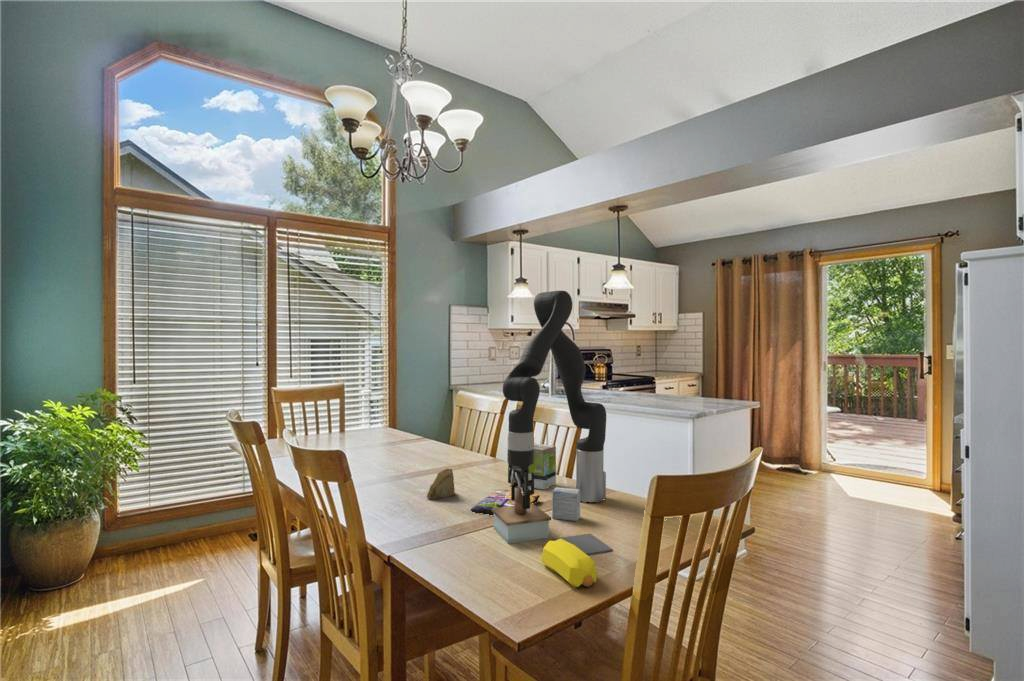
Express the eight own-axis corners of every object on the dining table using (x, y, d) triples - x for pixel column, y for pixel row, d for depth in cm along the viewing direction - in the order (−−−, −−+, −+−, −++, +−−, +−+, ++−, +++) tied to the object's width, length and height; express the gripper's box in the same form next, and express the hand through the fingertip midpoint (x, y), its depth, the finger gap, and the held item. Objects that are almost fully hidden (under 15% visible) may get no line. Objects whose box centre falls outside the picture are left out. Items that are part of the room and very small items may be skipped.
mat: (590, 534, 151) (590, 533, 151) (612, 550, 140) (612, 549, 140) (551, 540, 147) (551, 538, 147) (571, 557, 135) (571, 555, 135)
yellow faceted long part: (561, 557, 136) (535, 563, 133) (561, 531, 136) (535, 536, 132) (604, 587, 120) (575, 594, 116) (604, 557, 120) (576, 564, 116)
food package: (549, 503, 182) (549, 490, 181) (516, 527, 159) (516, 512, 159) (492, 494, 191) (492, 482, 191) (454, 515, 169) (454, 502, 169)
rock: (425, 495, 179) (455, 490, 181) (423, 471, 184) (452, 467, 186) (428, 506, 188) (456, 501, 189) (426, 483, 193) (453, 479, 194)
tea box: (556, 484, 202) (556, 445, 202) (543, 490, 194) (543, 449, 194) (522, 478, 211) (522, 440, 210) (508, 484, 202) (509, 445, 202)
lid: (532, 506, 160) (532, 480, 160) (551, 520, 148) (551, 492, 148) (491, 511, 156) (491, 484, 156) (507, 526, 144) (507, 497, 144)
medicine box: (580, 517, 166) (580, 489, 166) (577, 521, 162) (577, 493, 161) (555, 514, 168) (555, 486, 168) (552, 518, 164) (552, 490, 164)
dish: (531, 523, 160) (531, 506, 160) (548, 537, 149) (548, 519, 148) (493, 528, 155) (493, 511, 155) (508, 543, 144) (508, 525, 144)
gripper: (543, 451, 146) (542, 510, 147) (523, 441, 160) (523, 496, 160) (517, 453, 144) (517, 513, 144) (499, 443, 157) (499, 498, 157)
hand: (520, 504), depth 152 cm, fingers open, 8 cm apart
